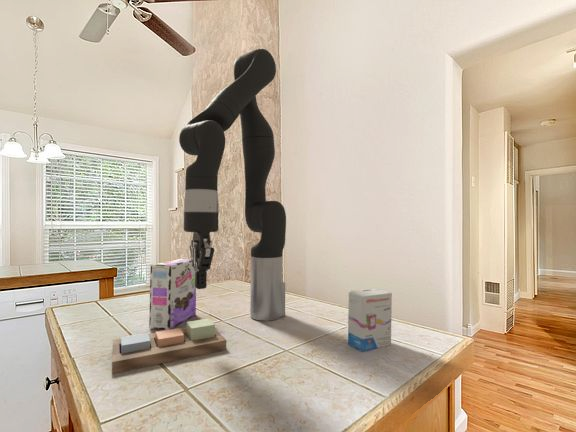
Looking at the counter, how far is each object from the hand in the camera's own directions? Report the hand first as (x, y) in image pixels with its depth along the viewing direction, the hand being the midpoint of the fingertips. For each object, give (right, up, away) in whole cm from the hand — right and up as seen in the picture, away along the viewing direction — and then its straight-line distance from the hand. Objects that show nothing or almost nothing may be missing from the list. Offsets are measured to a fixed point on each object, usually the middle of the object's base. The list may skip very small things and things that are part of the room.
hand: (200, 288), depth 68 cm
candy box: (-11, -13, +15) cm, 23 cm away
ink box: (+38, -13, -1) cm, 40 cm away
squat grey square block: (-11, -12, -7) cm, 18 cm away
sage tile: (0, -11, 0) cm, 11 cm away
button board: (-6, -12, -4) cm, 14 cm away
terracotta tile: (-6, -12, -4) cm, 14 cm away
